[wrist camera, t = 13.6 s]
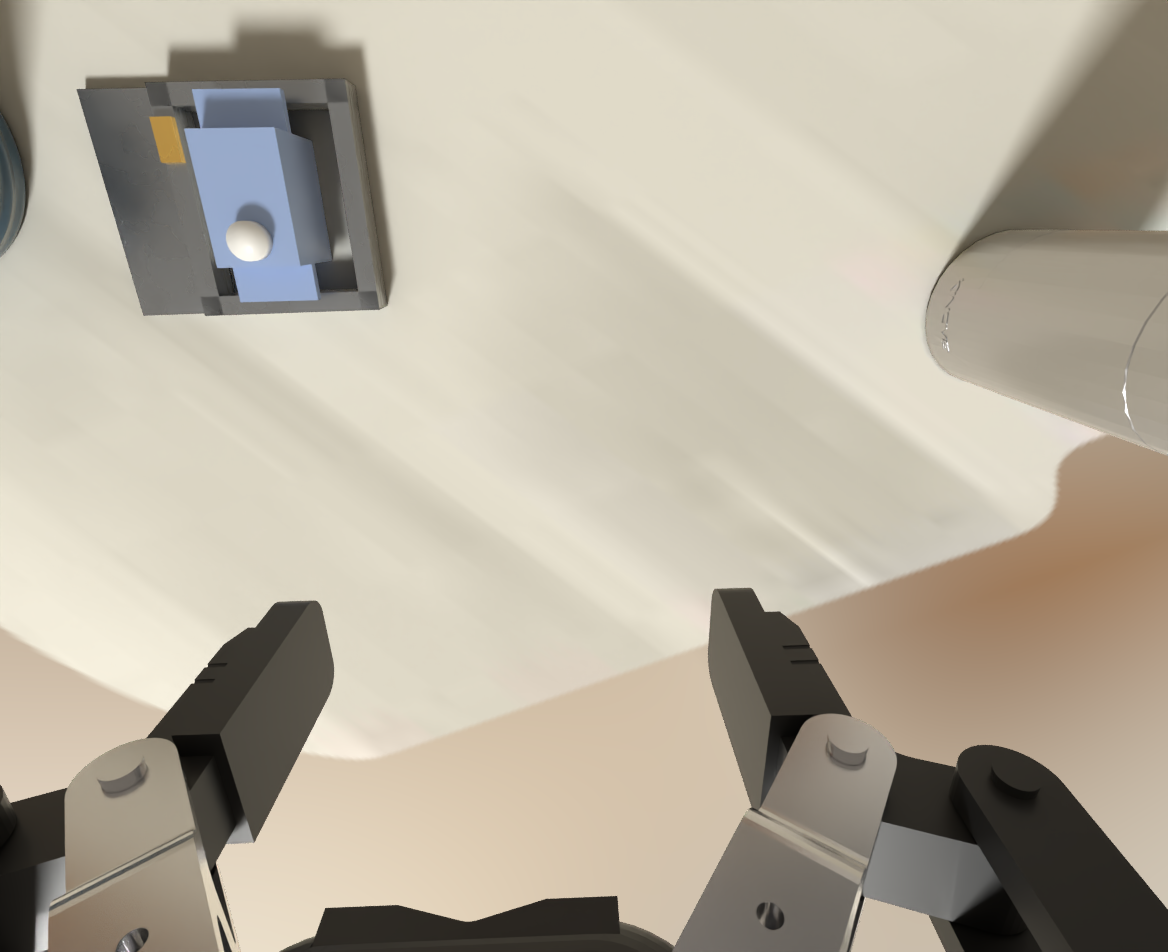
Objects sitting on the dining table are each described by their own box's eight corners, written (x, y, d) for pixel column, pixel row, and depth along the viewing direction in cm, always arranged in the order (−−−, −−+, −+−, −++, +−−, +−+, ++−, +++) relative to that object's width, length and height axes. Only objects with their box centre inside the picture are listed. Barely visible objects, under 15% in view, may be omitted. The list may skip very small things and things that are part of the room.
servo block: (305, 101, 32) (257, 76, 26) (338, 293, 35) (301, 305, 30) (227, 102, 32) (162, 78, 26) (267, 295, 35) (218, 307, 30)
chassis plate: (355, 86, 32) (342, 76, 29) (387, 305, 36) (377, 310, 34) (84, 91, 31) (52, 82, 29) (149, 314, 35) (125, 319, 33)
